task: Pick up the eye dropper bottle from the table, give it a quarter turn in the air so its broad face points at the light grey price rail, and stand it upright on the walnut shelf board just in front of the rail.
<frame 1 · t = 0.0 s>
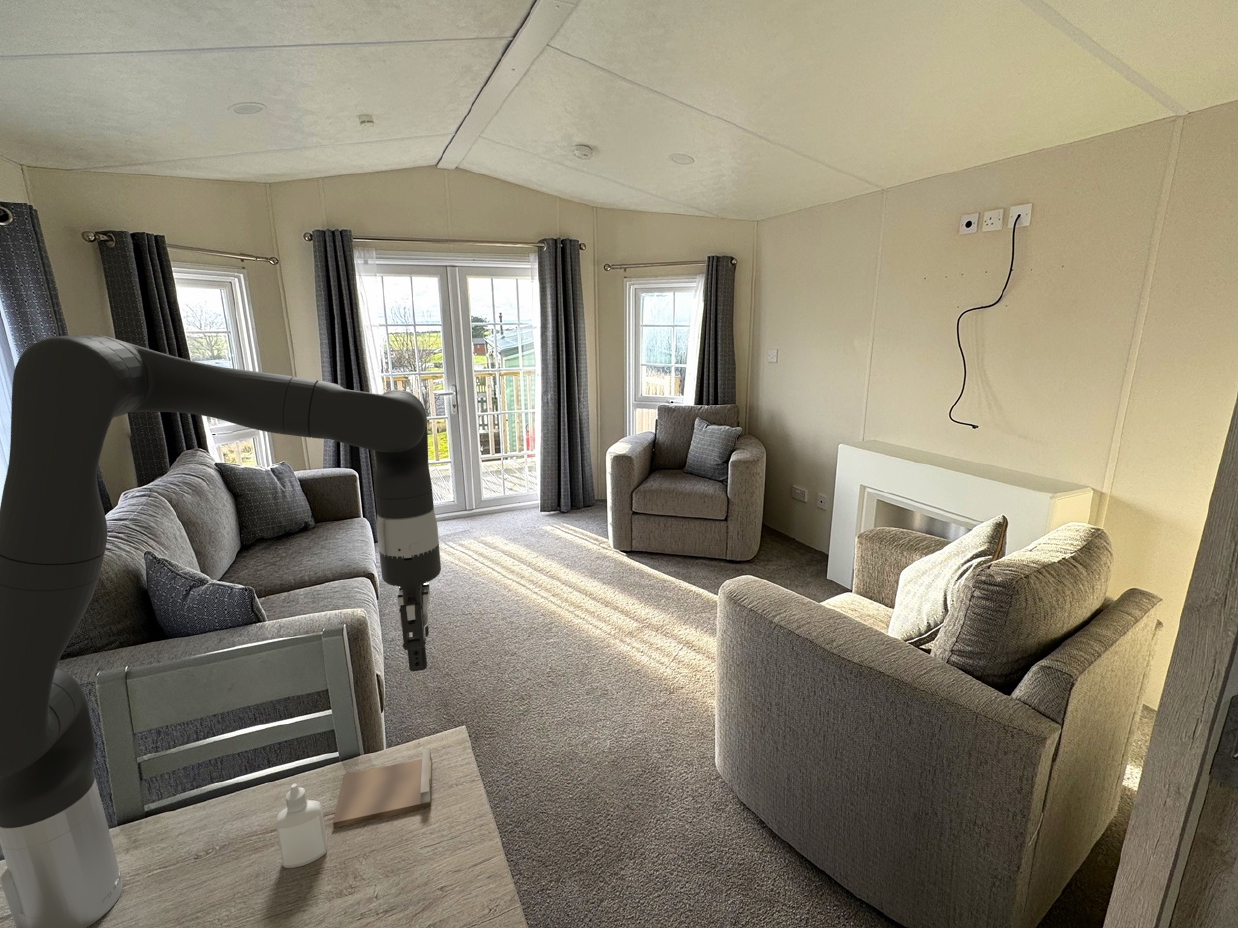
hand: (419, 652, 82), 29 cm above the table, tool pointing down, fingers open, 8 cm apart
walnut shelf board: (386, 792, 95), on the table
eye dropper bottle: (306, 856, 84), on the table
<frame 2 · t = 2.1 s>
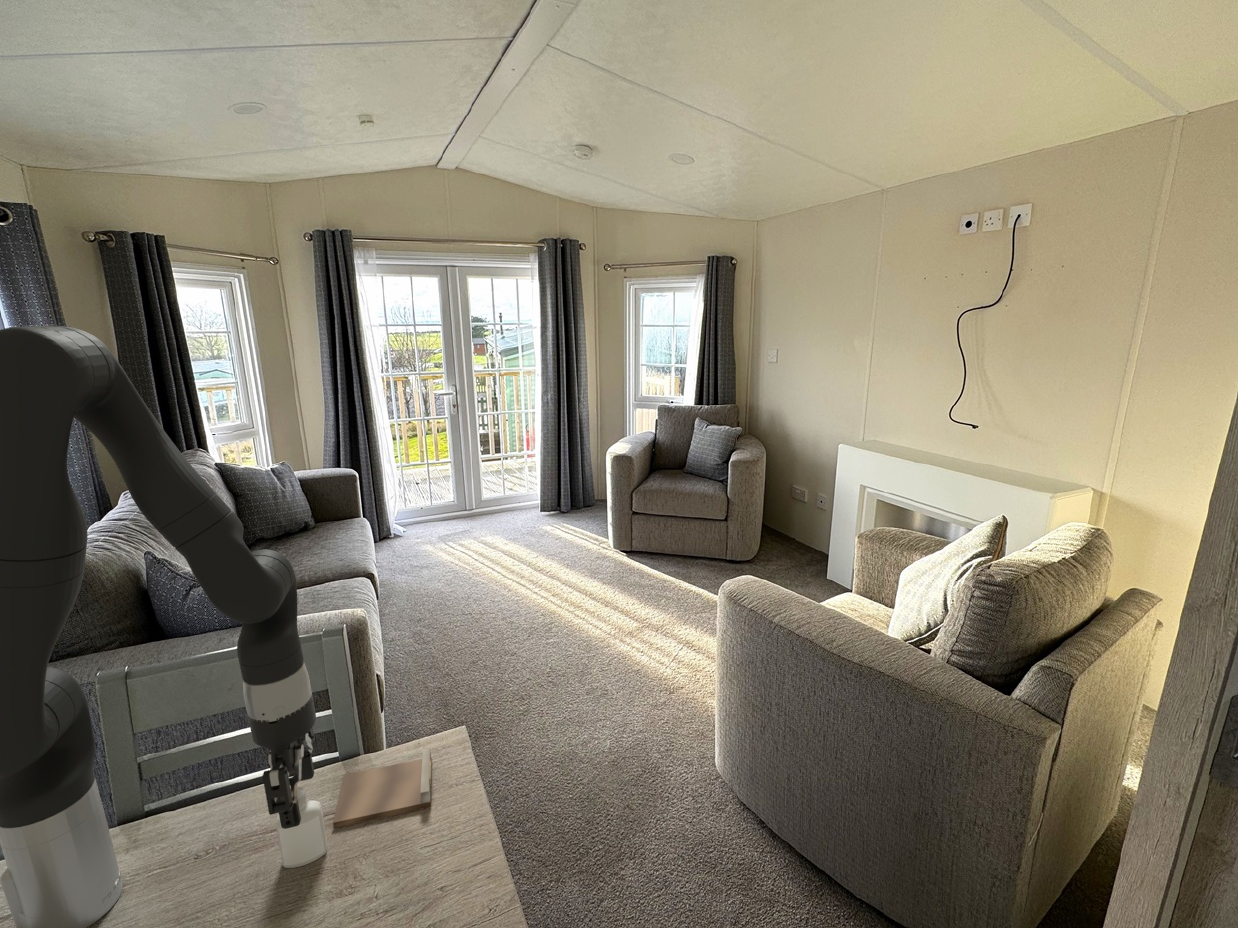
hand: (299, 800, 82), 9 cm above the table, tool pointing down, fingers open, 8 cm apart
nothing on the table moved.
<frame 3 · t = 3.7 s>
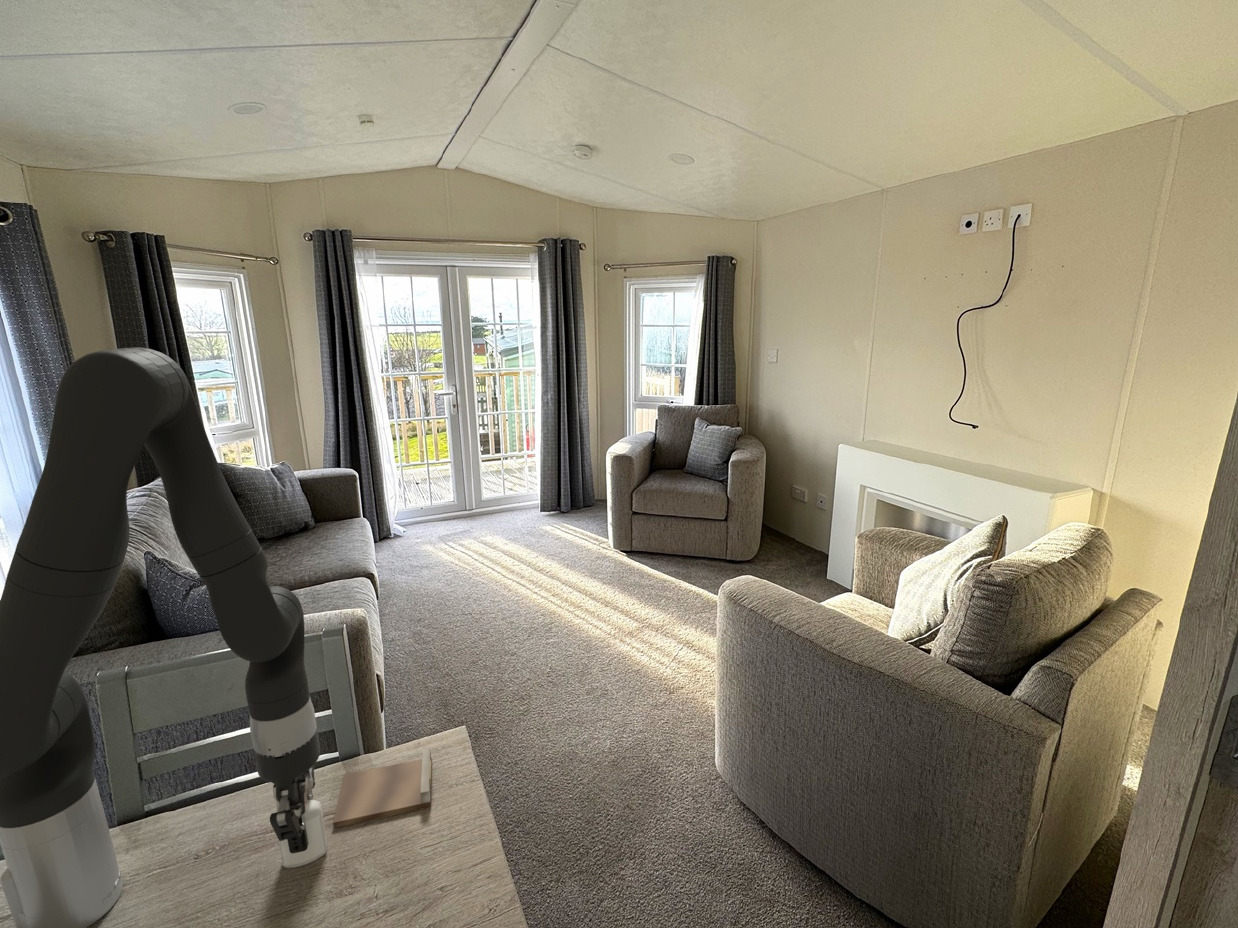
hand: (302, 837, 83), 3 cm above the table, tool pointing down, fingers closed on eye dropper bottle, 3 cm apart
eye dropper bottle: (306, 856, 84), on the table, touching gripper
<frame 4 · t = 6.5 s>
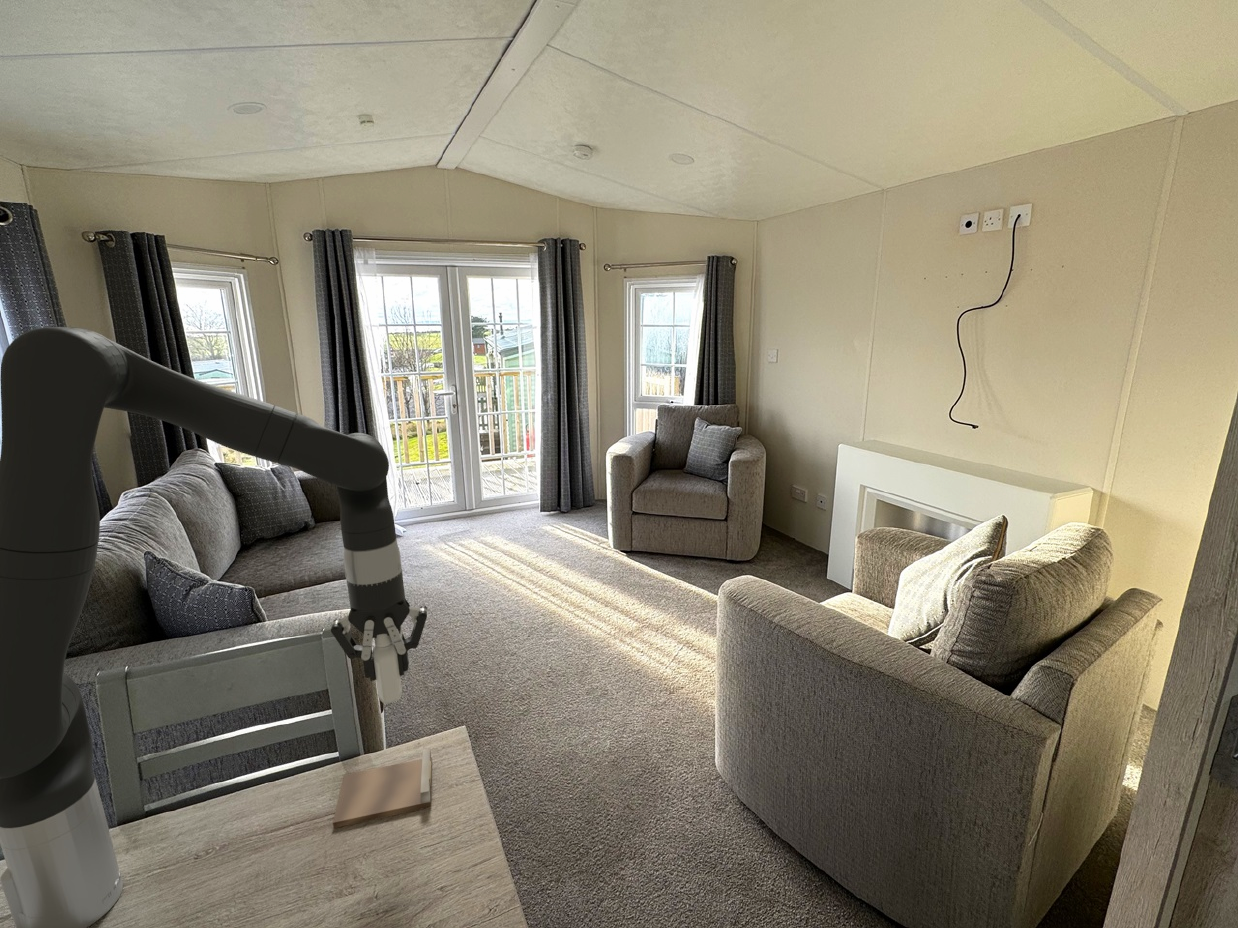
hand: (387, 674, 90), 22 cm above the table, tool pointing down, fingers closed on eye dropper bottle, 3 cm apart
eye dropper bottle: (390, 694, 90), point 18 cm above the table, touching gripper
when the fingers open (5 cm above the table, at t = 9.4 s): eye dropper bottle drops 1 cm, resting on walnut shelf board.
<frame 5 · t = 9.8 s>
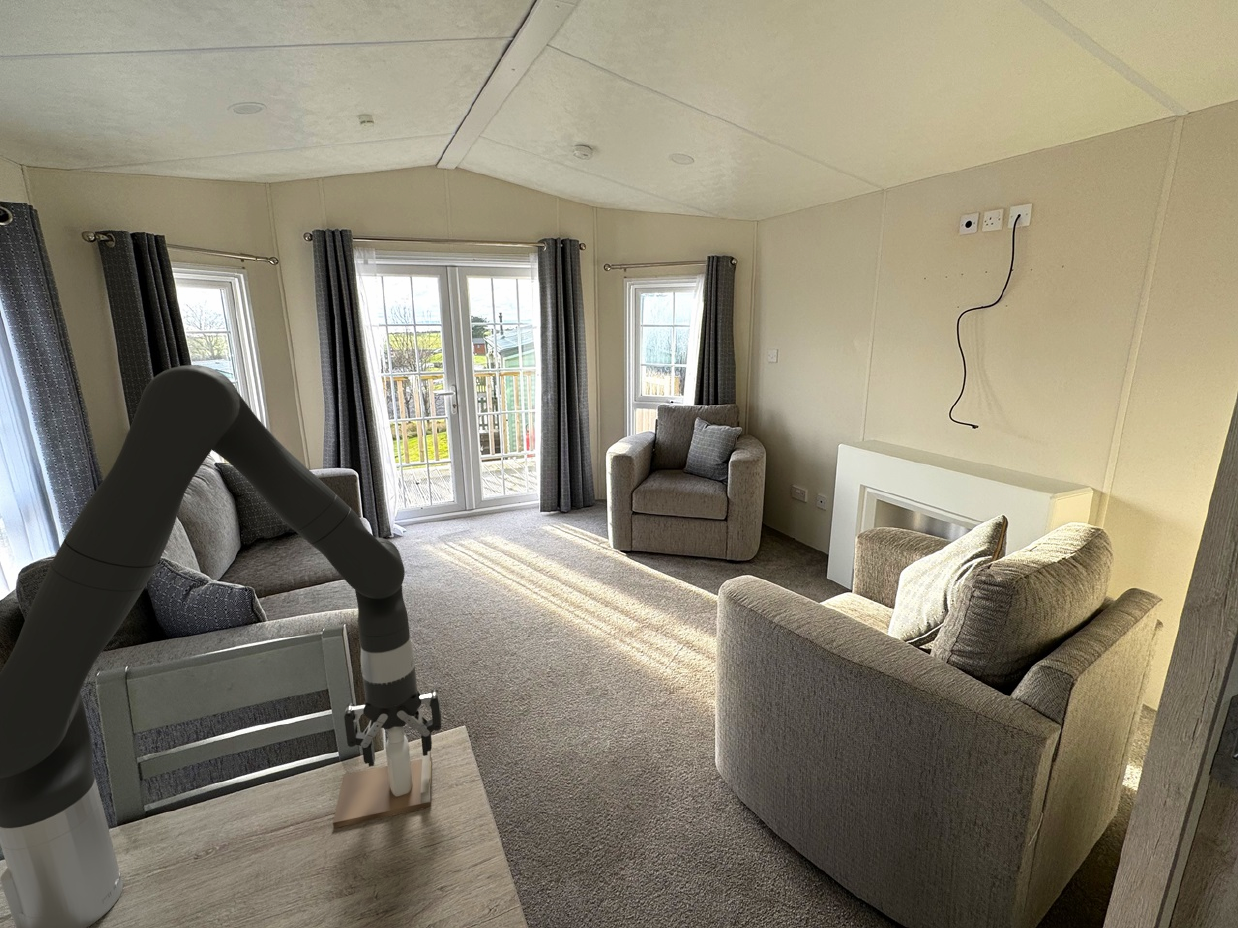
hand: (399, 757, 94), 6 cm above the table, tool pointing down, fingers open, 7 cm apart
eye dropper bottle: (401, 785, 95), point 1 cm above the table, touching walnut shelf board
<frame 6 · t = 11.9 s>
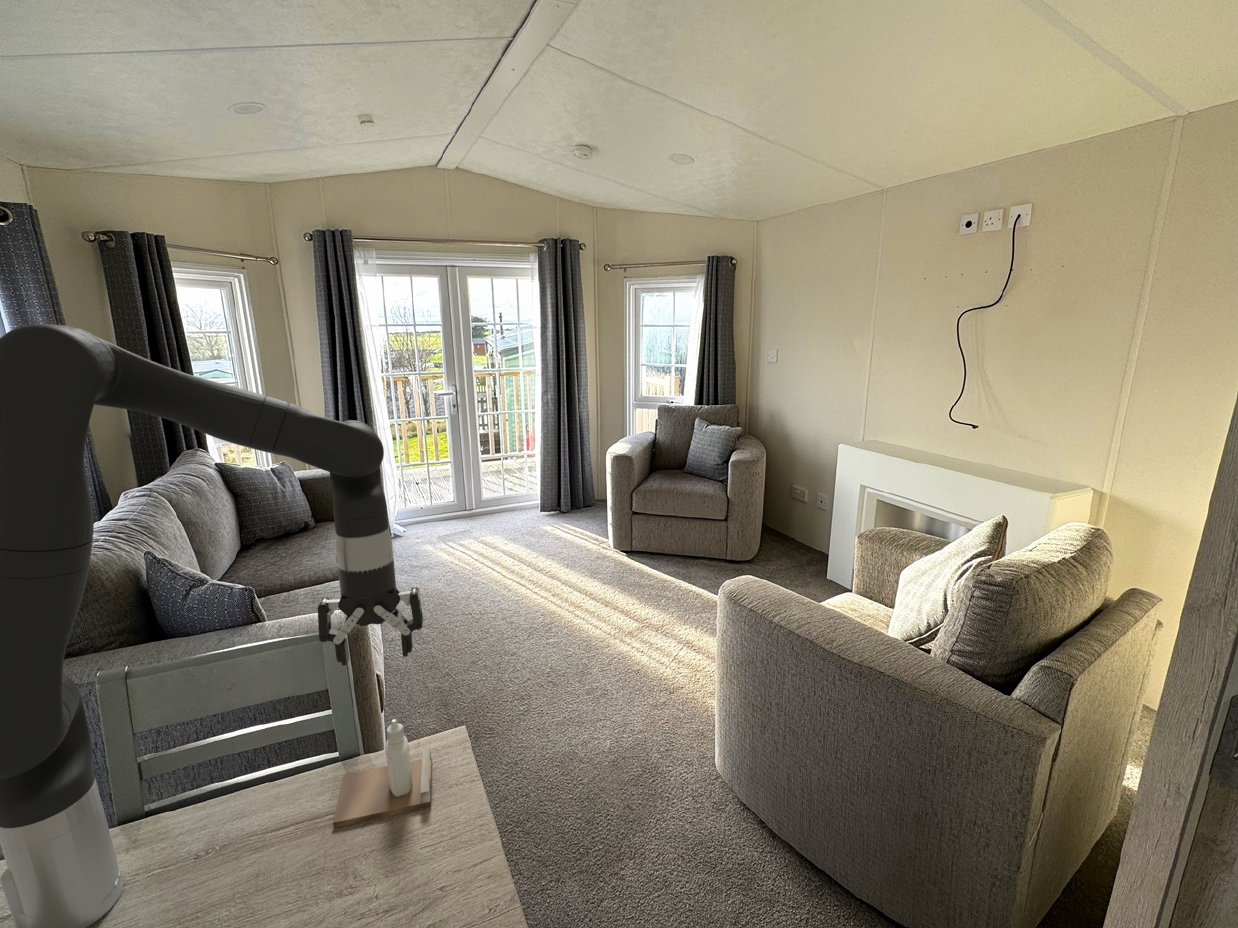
hand: (376, 658, 89), 24 cm above the table, tool pointing down, fingers open, 8 cm apart
nothing on the table moved.
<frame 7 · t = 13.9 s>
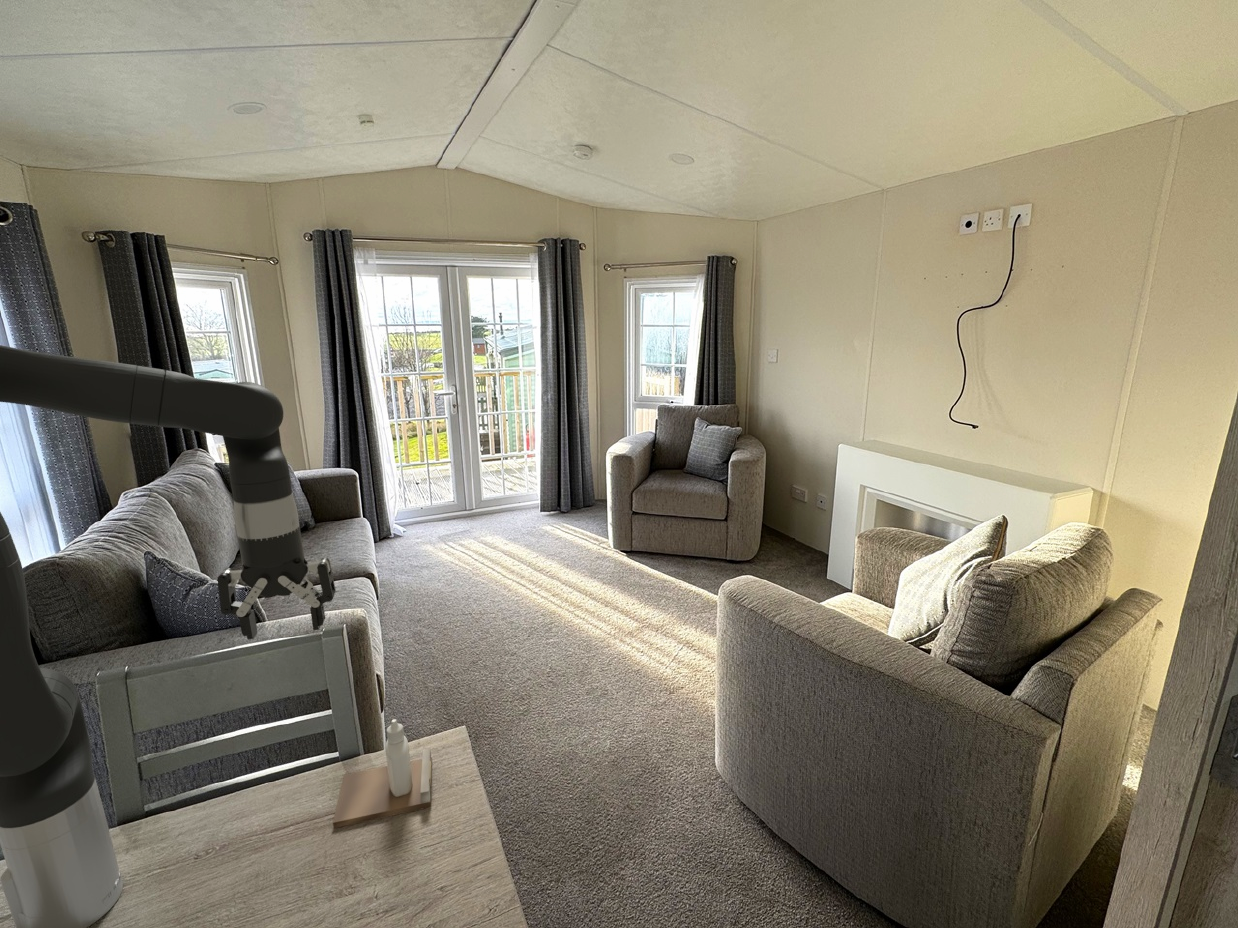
hand: (285, 632, 86), 30 cm above the table, tool pointing down, fingers open, 8 cm apart
nothing on the table moved.
at the end: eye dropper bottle 0.1 cm from the target spot on the walnut shelf board, point 0.8 cm above the walnut shelf board's base; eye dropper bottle tilted 0°; the gripper is holding nothing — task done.
